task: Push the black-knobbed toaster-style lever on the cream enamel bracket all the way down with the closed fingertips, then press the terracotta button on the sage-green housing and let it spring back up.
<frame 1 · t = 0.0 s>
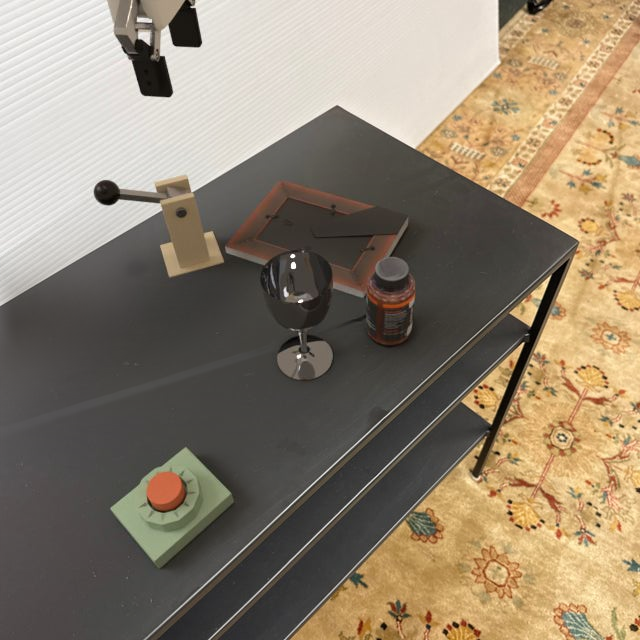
hand: (173, 69, 66), 32 cm above the table, tool pointing down, fingers open, 9 cm apart
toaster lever: (142, 196, 83), point 13 cm above the table, hinge at 25.0°
cancel button: (165, 491, 66), point 4 cm above the table, slide at 0.1 cm
wine glass: (305, 358, 82), on the table
button box: (175, 509, 69), on the table
picture frame: (318, 243, 95), on the table
toaster bracket: (193, 258, 94), on the table
supplement bottle: (388, 330, 84), on the table
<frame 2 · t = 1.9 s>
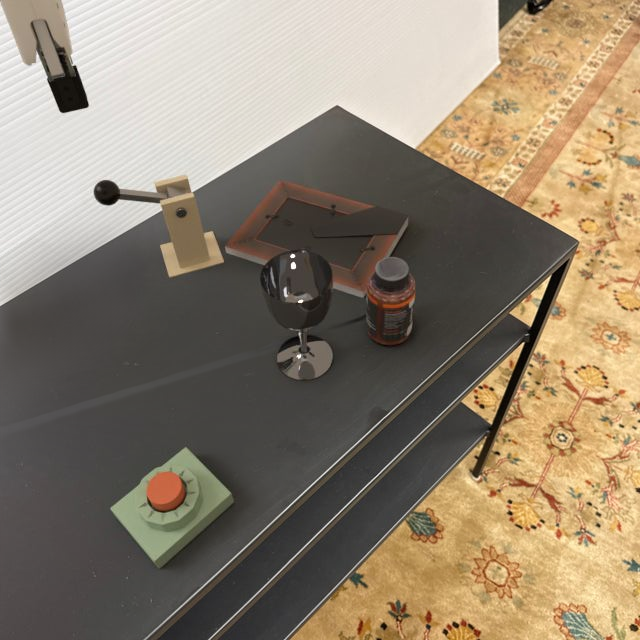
hand: (74, 105, 72), 27 cm above the table, tool pointing down, fingers closed
nothing on the table moved.
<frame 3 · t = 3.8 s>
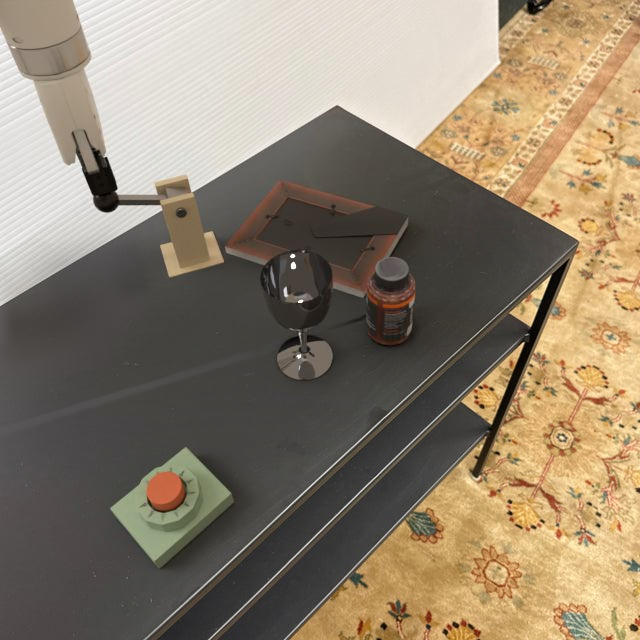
hand: (104, 189, 81), 15 cm above the table, tool pointing down, fingers closed
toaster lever: (141, 200, 84), point 12 cm above the table, hinge at 17.8°, touching gripper
everything else where it was.
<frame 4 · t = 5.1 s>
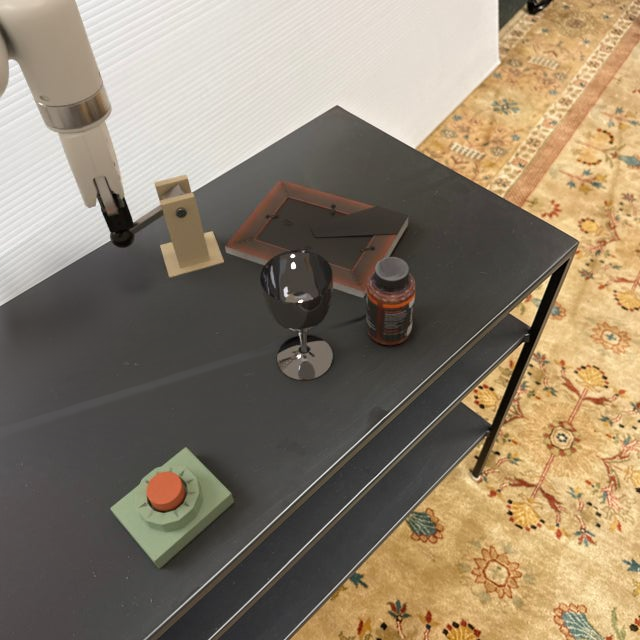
hand: (121, 226, 86), 9 cm above the table, tool pointing down, fingers closed
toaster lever: (148, 218, 86), point 9 cm above the table, hinge at -23.1°, touching gripper
everything else where it was.
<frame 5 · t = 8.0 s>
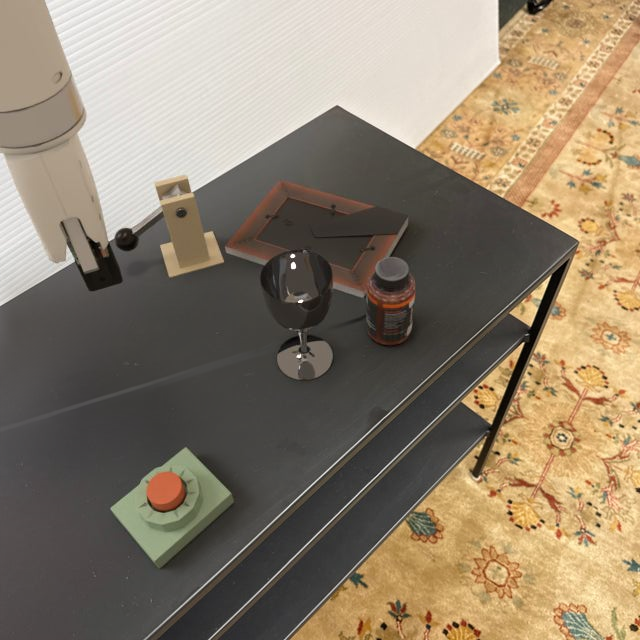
hand: (105, 281, 61), 22 cm above the table, tool pointing down, fingers closed
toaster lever: (151, 220, 87), point 9 cm above the table, hinge at -28.5°
everything else where it was.
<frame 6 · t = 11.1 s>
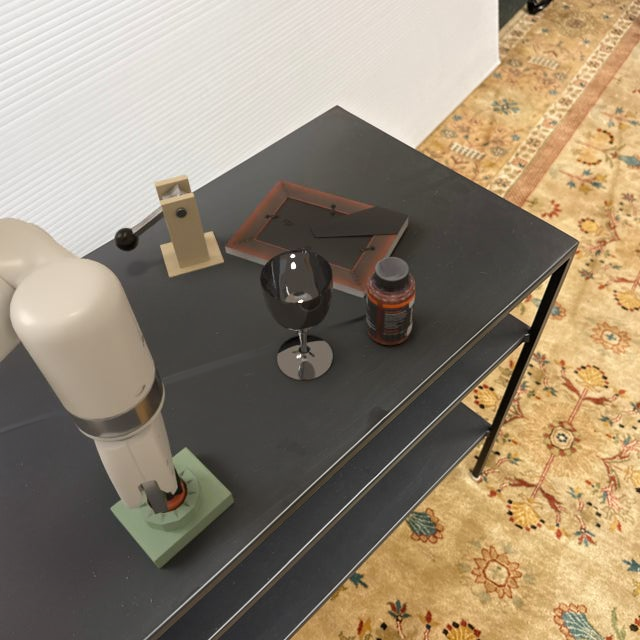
hand: (166, 491, 66), 5 cm above the table, tool pointing down, fingers closed
cancel button: (167, 494, 67), point 4 cm above the table, slide at -0.7 cm, touching gripper
everything else where it was.
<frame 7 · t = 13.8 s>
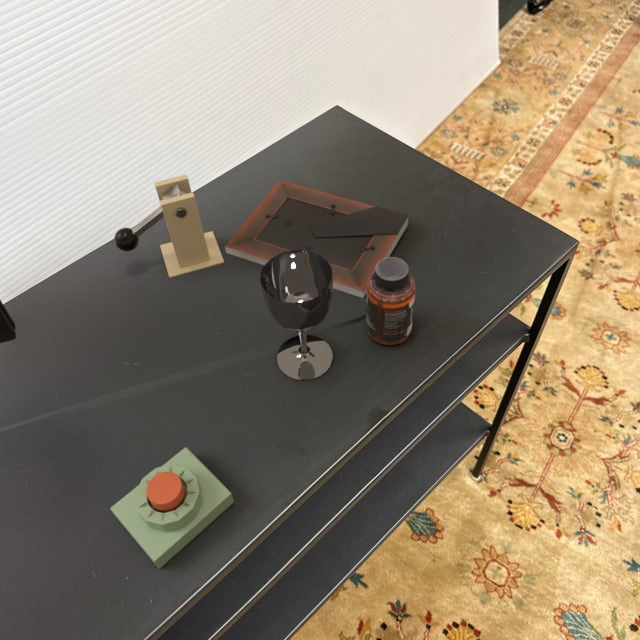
cancel button: (165, 491, 66), point 4 cm above the table, slide at 0.1 cm
everything else where it was.
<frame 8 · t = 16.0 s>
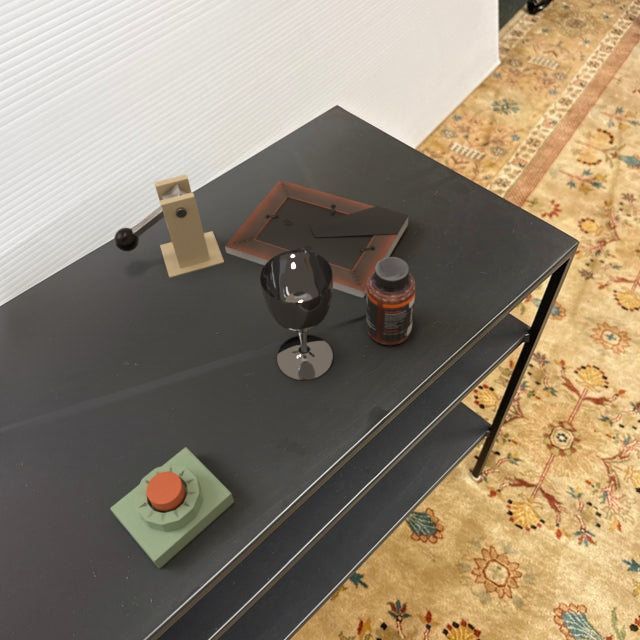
nothing on the table moved.
at the end: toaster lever at -28° (first picture: +25°); cancel button pushed in 1.1 cm at the most during the clip, back to where it started at the end; cancel button slide at 0.1 cm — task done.
